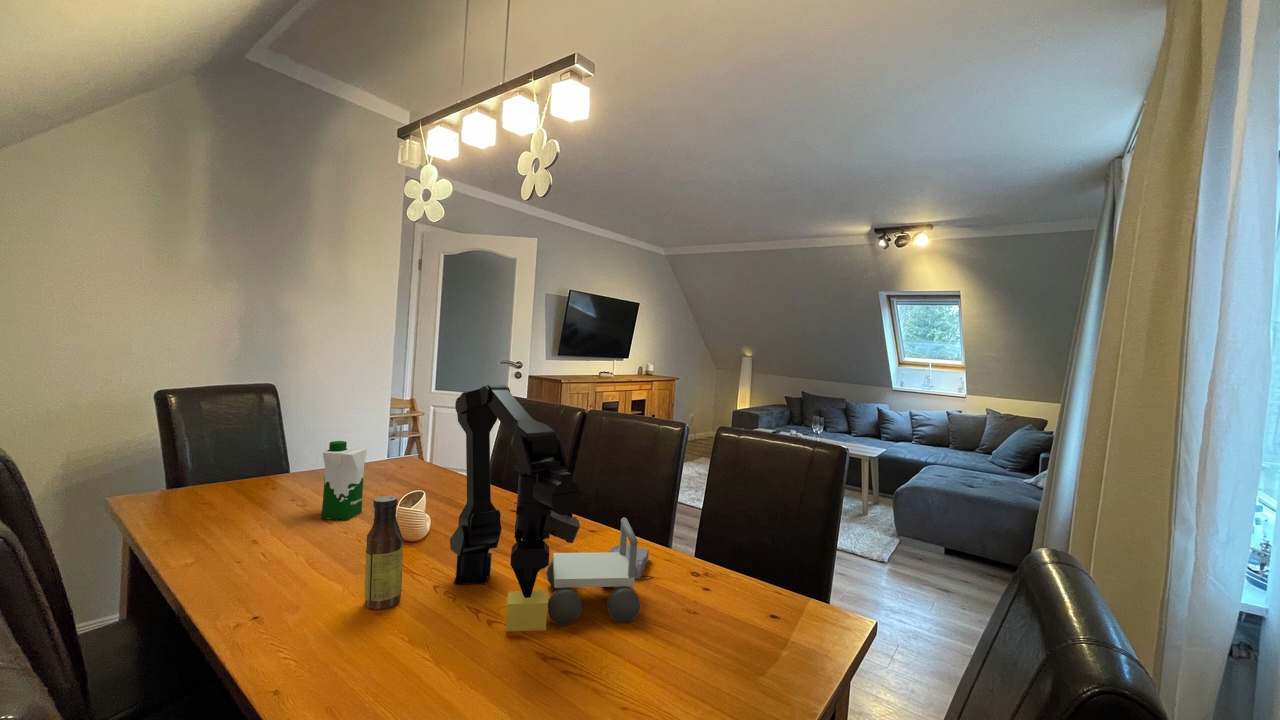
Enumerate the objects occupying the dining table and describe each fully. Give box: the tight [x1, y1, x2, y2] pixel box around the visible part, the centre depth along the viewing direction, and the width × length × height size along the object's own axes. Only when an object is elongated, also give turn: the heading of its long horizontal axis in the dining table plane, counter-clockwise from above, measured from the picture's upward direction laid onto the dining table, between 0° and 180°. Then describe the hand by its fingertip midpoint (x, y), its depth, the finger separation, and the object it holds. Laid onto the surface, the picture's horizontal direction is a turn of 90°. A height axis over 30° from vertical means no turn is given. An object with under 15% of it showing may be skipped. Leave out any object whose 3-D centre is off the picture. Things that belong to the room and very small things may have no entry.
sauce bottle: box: [364, 495, 404, 611], centre depth 96 cm, size 6×6×20 cm
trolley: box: [546, 517, 641, 626], centre depth 102 cm, size 17×16×15 cm
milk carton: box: [320, 440, 368, 521], centre depth 140 cm, size 9×9×20 cm
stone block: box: [607, 544, 650, 580], centre depth 120 cm, size 12×5×10 cm
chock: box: [504, 590, 549, 632], centre depth 93 cm, size 7×4×5 cm, turn 101°
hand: (528, 584), depth 92 cm, fingers open, 9 cm apart
